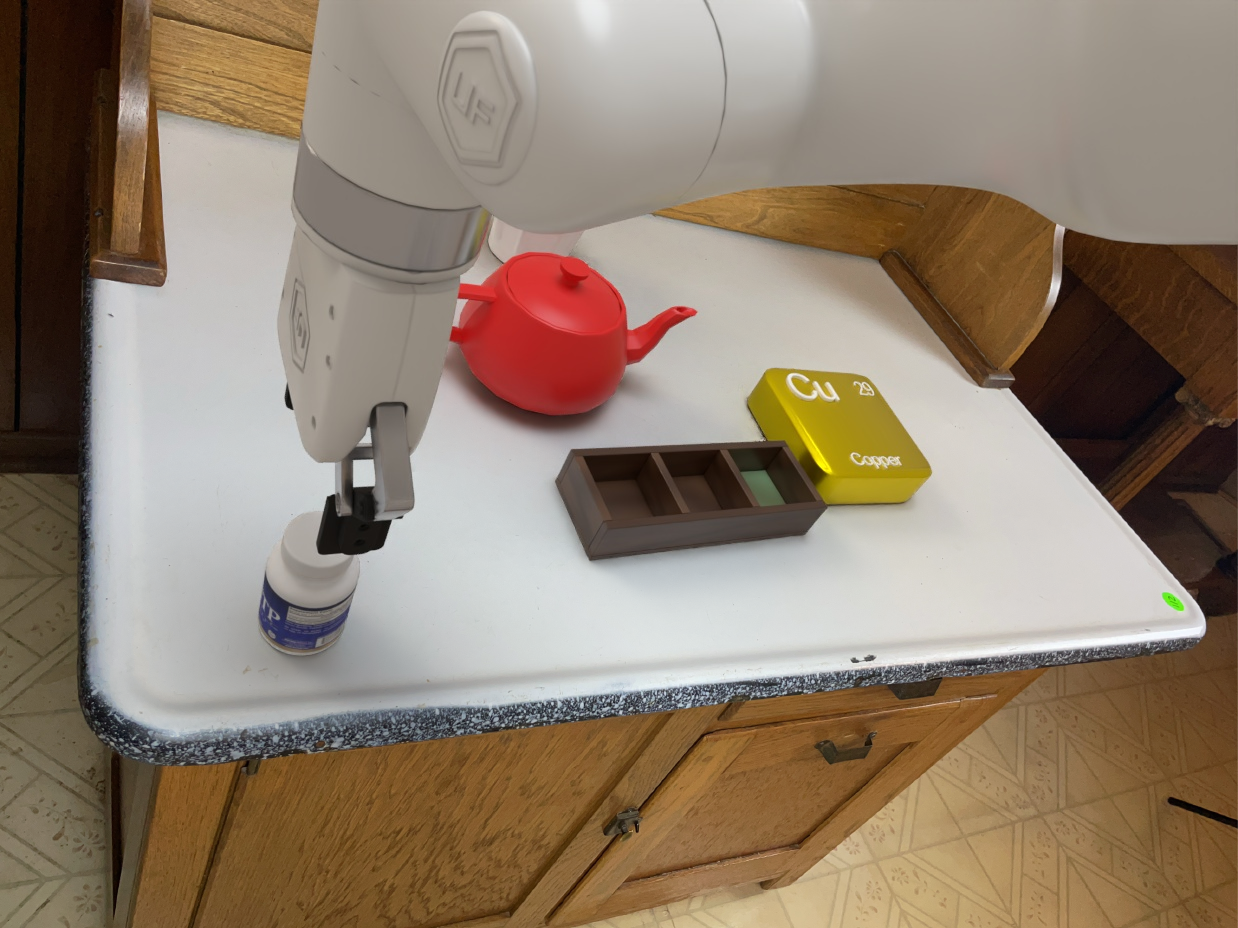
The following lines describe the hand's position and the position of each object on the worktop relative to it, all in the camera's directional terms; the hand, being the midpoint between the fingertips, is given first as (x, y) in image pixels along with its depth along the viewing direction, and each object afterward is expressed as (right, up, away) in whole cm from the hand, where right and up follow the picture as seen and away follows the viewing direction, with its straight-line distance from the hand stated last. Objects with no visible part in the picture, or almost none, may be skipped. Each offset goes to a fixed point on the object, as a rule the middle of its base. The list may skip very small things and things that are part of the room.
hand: (330, 472), depth 45 cm
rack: (+21, -3, +29) cm, 36 cm away
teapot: (+8, +9, +35) cm, 37 cm away
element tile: (+37, +2, +44) cm, 57 cm away
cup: (+5, +23, +48) cm, 53 cm away
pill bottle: (-5, -10, +9) cm, 14 cm away
